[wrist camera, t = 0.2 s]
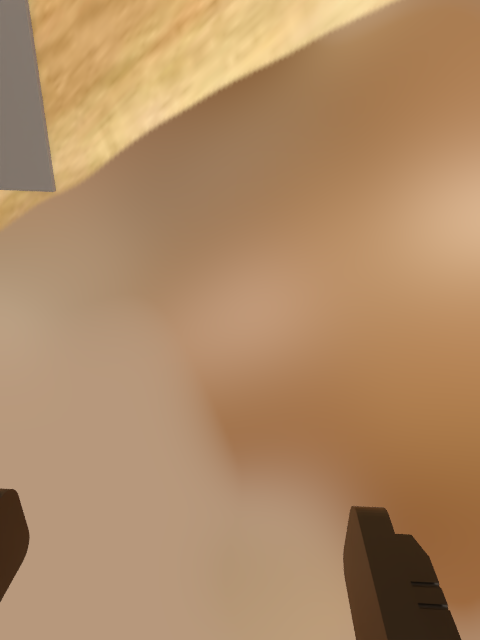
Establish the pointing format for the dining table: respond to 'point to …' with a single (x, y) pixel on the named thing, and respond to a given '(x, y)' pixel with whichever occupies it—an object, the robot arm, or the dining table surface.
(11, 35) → the gray mat
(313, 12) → the dining table surface
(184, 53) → the dining table surface
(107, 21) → the dining table surface
